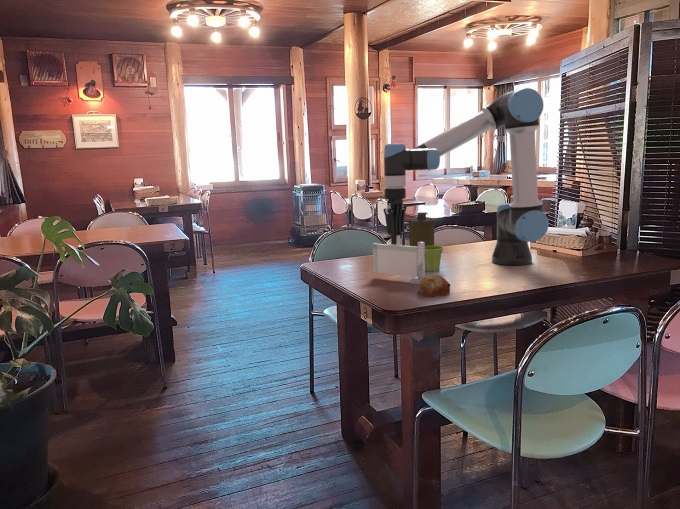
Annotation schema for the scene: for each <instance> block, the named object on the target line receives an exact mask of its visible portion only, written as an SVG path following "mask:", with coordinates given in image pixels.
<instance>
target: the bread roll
mask: <svg viewBox="0 0 680 509" xmlns="http://www.w3.org/2000/svg"><path fill="white" fill-rule="evenodd" d="M451 286H452V285H451V284H450V283H449V282H448V280H447V279H446V278H444V277H443V276H441V275H440V274H439V275H438V274H431V273H430V274H426V275H425V277H424V278H423V279H422V280H421V281H420V282H419V284H418V290H417V294H419V295H420V296H422V297H424V298H425V297H426V298H439V297H446V296H448V295H449V294H450V292H451Z"/></svg>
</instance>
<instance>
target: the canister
mask: <svg viewBox="0 0 680 509" xmlns="http://www.w3.org/2000/svg"><path fill="white" fill-rule="evenodd" d="M427 215H429V214H428V212H426V211H425V212H421V211H420V212H419V211H418V212H417V216H416V217H413V218H408V237H409V238H408V242H409V246H417V247H418V244H417V242H425V246H435V221H436V220H435V218H432V217H427Z"/></svg>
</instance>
